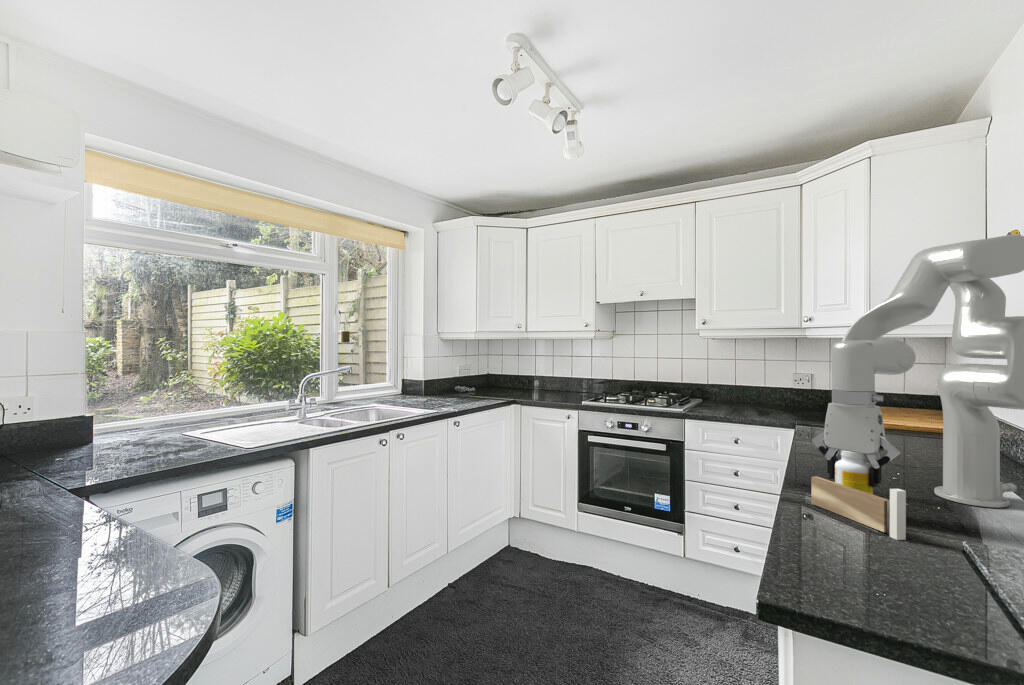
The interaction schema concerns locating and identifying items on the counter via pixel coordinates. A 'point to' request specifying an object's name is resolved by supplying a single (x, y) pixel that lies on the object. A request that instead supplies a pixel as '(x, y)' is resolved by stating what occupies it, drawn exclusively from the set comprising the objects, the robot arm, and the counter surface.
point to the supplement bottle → (853, 471)
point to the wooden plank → (851, 503)
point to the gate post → (898, 514)
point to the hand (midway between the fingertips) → (853, 480)
